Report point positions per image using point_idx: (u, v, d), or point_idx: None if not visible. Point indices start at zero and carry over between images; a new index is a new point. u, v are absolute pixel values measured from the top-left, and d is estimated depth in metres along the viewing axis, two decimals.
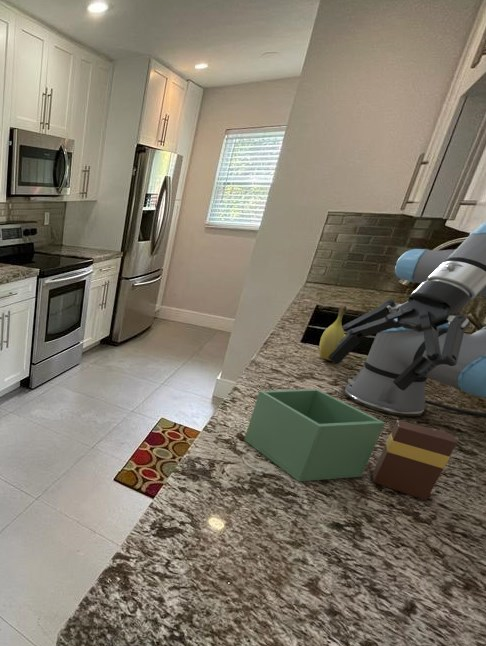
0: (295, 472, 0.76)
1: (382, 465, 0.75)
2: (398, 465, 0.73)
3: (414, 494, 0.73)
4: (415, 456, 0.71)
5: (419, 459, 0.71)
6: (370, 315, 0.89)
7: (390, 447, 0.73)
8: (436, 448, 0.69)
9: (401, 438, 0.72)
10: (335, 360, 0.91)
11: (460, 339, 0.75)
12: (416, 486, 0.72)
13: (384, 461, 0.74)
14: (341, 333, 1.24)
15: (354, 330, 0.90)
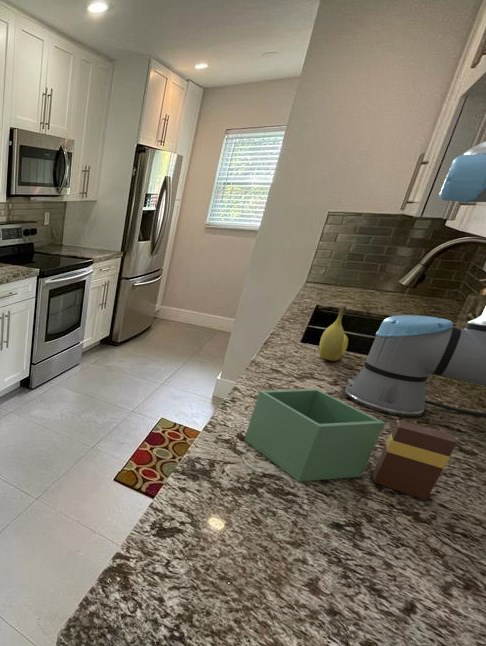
0: (295, 472, 0.76)
1: (382, 465, 0.75)
2: (398, 465, 0.73)
3: (414, 494, 0.73)
4: (415, 456, 0.71)
5: (419, 459, 0.71)
6: None
7: (390, 447, 0.73)
8: (436, 448, 0.69)
9: (401, 438, 0.72)
10: None
11: None
12: (416, 486, 0.72)
13: (384, 461, 0.74)
14: (341, 333, 1.24)
15: None
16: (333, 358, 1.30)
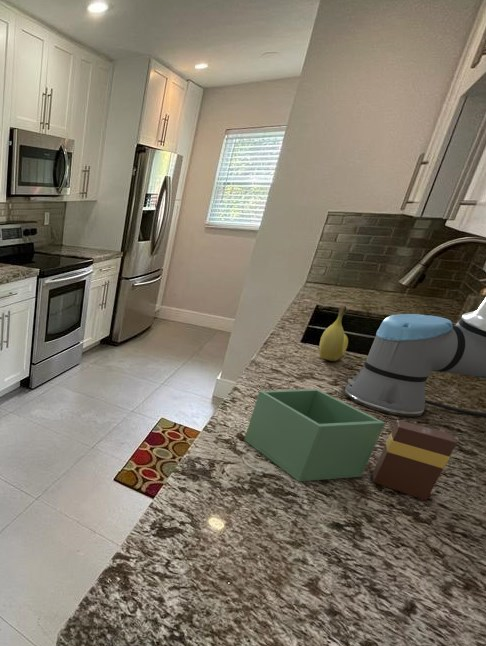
0: (295, 472, 0.76)
1: (382, 465, 0.75)
2: (398, 465, 0.73)
3: (414, 494, 0.73)
4: (415, 456, 0.71)
5: (419, 459, 0.71)
6: None
7: (390, 447, 0.73)
8: (436, 448, 0.69)
9: (401, 438, 0.72)
10: None
11: None
12: (416, 486, 0.72)
13: (384, 461, 0.74)
14: (341, 333, 1.24)
15: None
16: (333, 358, 1.30)
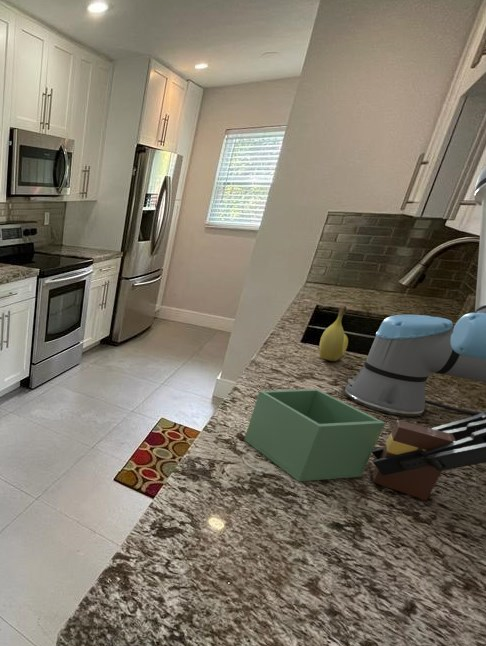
0: (295, 472, 0.76)
1: None
2: None
3: (414, 494, 0.73)
4: None
5: None
6: (458, 423, 0.72)
7: (390, 447, 0.73)
8: None
9: (401, 438, 0.72)
10: (378, 458, 0.77)
11: (480, 459, 0.64)
12: (416, 486, 0.72)
13: None
14: (341, 333, 1.24)
15: None
16: (333, 358, 1.30)
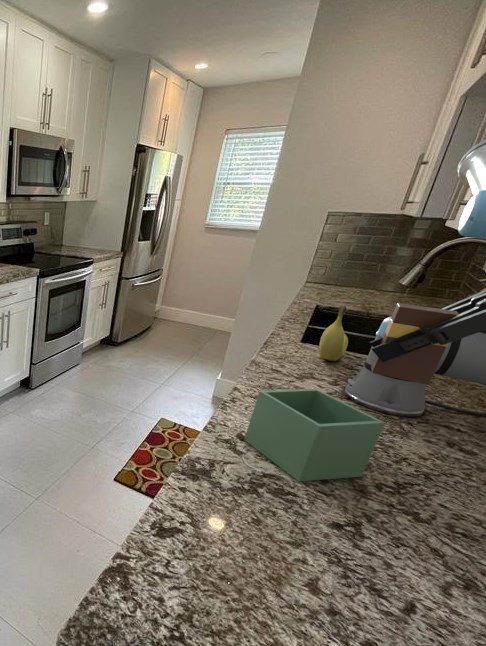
0: (295, 472, 0.76)
1: None
2: None
3: (416, 380, 0.68)
4: None
5: None
6: (461, 302, 0.67)
7: (390, 330, 0.69)
8: None
9: (402, 319, 0.68)
10: None
11: None
12: (417, 371, 0.68)
13: None
14: (341, 333, 1.24)
15: None
16: (333, 358, 1.30)
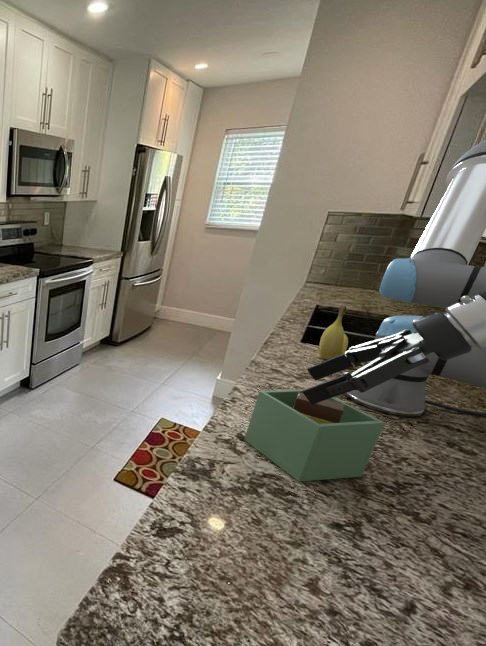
0: (295, 472, 0.76)
1: None
2: None
3: None
4: None
5: None
6: (377, 341, 0.76)
7: None
8: (327, 416, 0.77)
9: (299, 408, 0.79)
10: (313, 374, 0.83)
11: (395, 372, 0.65)
12: None
13: None
14: (341, 333, 1.24)
15: (350, 351, 0.79)
16: None
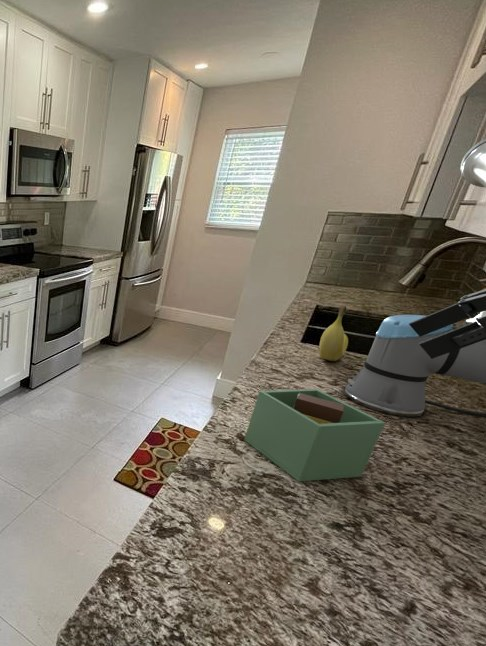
0: (295, 472, 0.76)
1: None
2: None
3: None
4: None
5: None
6: None
7: None
8: (327, 417, 0.77)
9: (299, 408, 0.79)
10: (416, 329, 0.73)
11: None
12: None
13: None
14: (341, 333, 1.24)
15: (466, 300, 0.68)
16: (333, 358, 1.30)
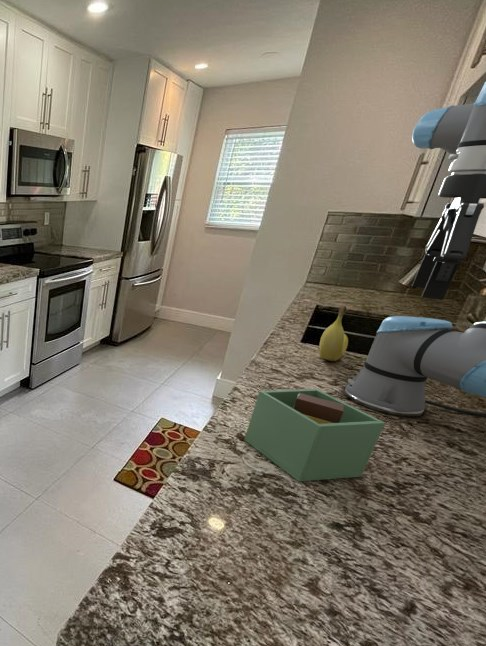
0: (295, 472, 0.76)
1: None
2: None
3: None
4: None
5: None
6: (437, 227, 0.81)
7: None
8: (327, 417, 0.77)
9: (299, 408, 0.79)
10: (422, 286, 0.84)
11: (469, 228, 0.69)
12: None
13: None
14: (341, 333, 1.24)
15: (428, 249, 0.83)
16: (333, 358, 1.30)
